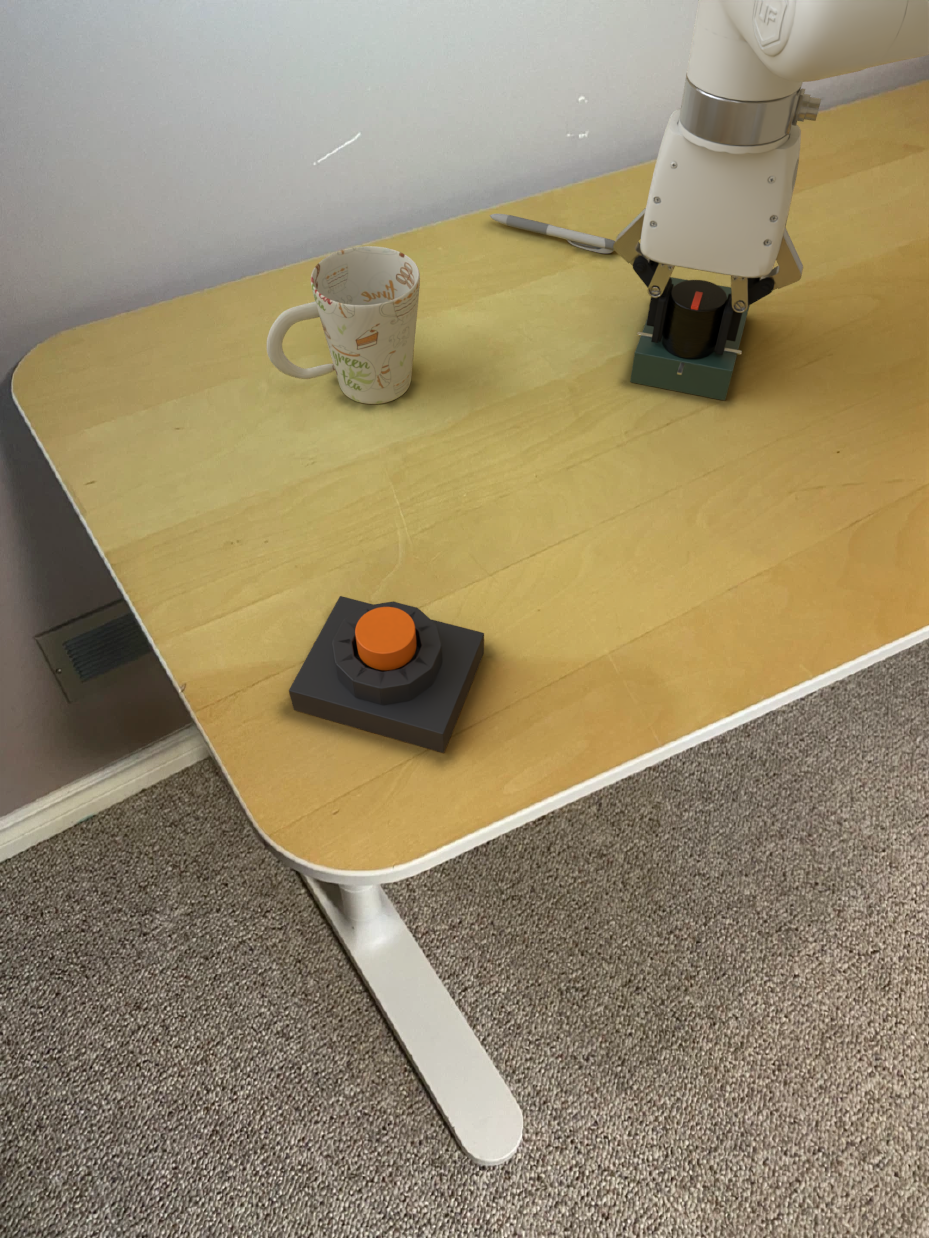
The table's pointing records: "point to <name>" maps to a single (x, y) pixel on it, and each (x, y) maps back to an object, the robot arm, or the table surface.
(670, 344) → the dial
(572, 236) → the pen
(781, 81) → the robot arm
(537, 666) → the table surface
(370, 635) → the round orange button
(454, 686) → the push button box
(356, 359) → the mug
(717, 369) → the dial panel
